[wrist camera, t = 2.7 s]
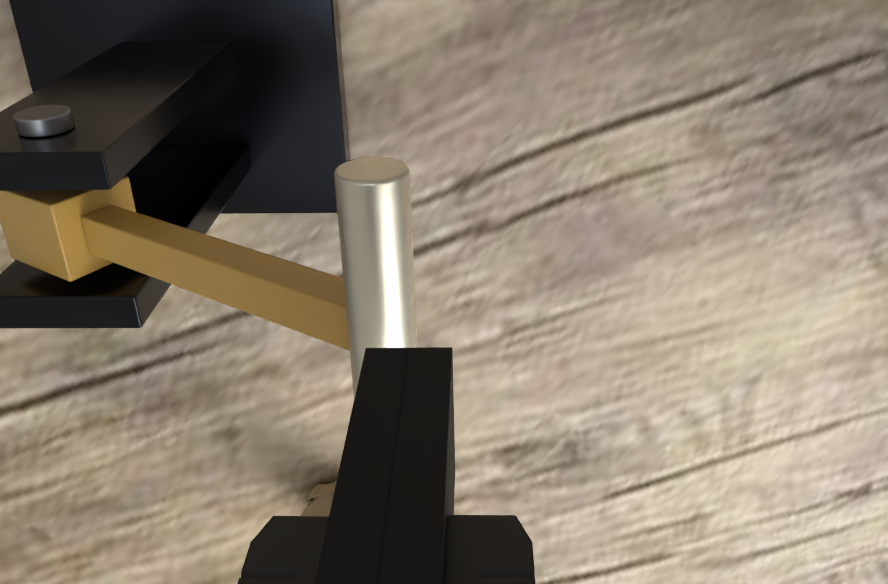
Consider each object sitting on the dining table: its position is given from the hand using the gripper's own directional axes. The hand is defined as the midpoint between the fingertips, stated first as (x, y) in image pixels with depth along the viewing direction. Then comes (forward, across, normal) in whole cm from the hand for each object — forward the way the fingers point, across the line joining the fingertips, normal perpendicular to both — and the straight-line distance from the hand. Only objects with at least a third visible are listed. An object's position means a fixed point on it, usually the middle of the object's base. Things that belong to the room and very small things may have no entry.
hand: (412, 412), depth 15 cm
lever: (+7, +5, 0) cm, 9 cm away
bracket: (+21, +10, 0) cm, 23 cm away
